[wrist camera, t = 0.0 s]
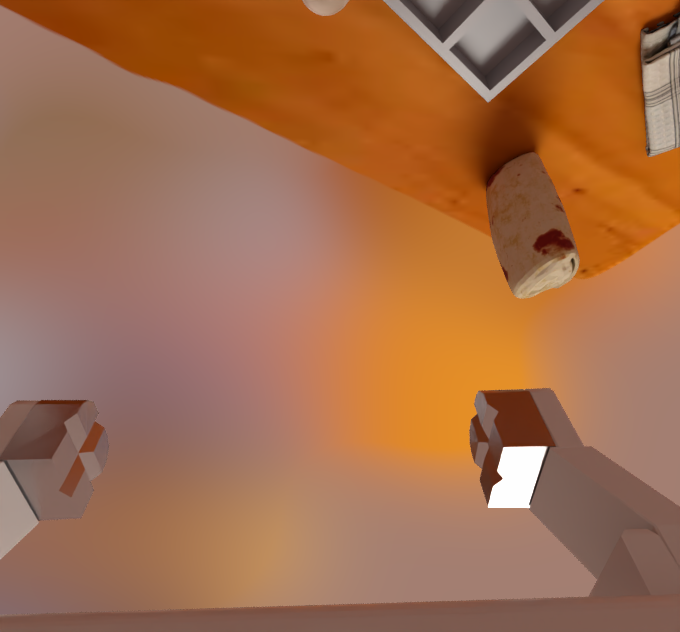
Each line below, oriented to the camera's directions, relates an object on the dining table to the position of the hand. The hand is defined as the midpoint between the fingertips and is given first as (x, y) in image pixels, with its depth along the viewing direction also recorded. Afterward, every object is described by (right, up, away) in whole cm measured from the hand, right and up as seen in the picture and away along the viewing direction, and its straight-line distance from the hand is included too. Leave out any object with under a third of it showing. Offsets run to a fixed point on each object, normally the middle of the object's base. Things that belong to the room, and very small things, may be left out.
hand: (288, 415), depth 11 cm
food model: (+25, +22, +59) cm, 68 cm away
